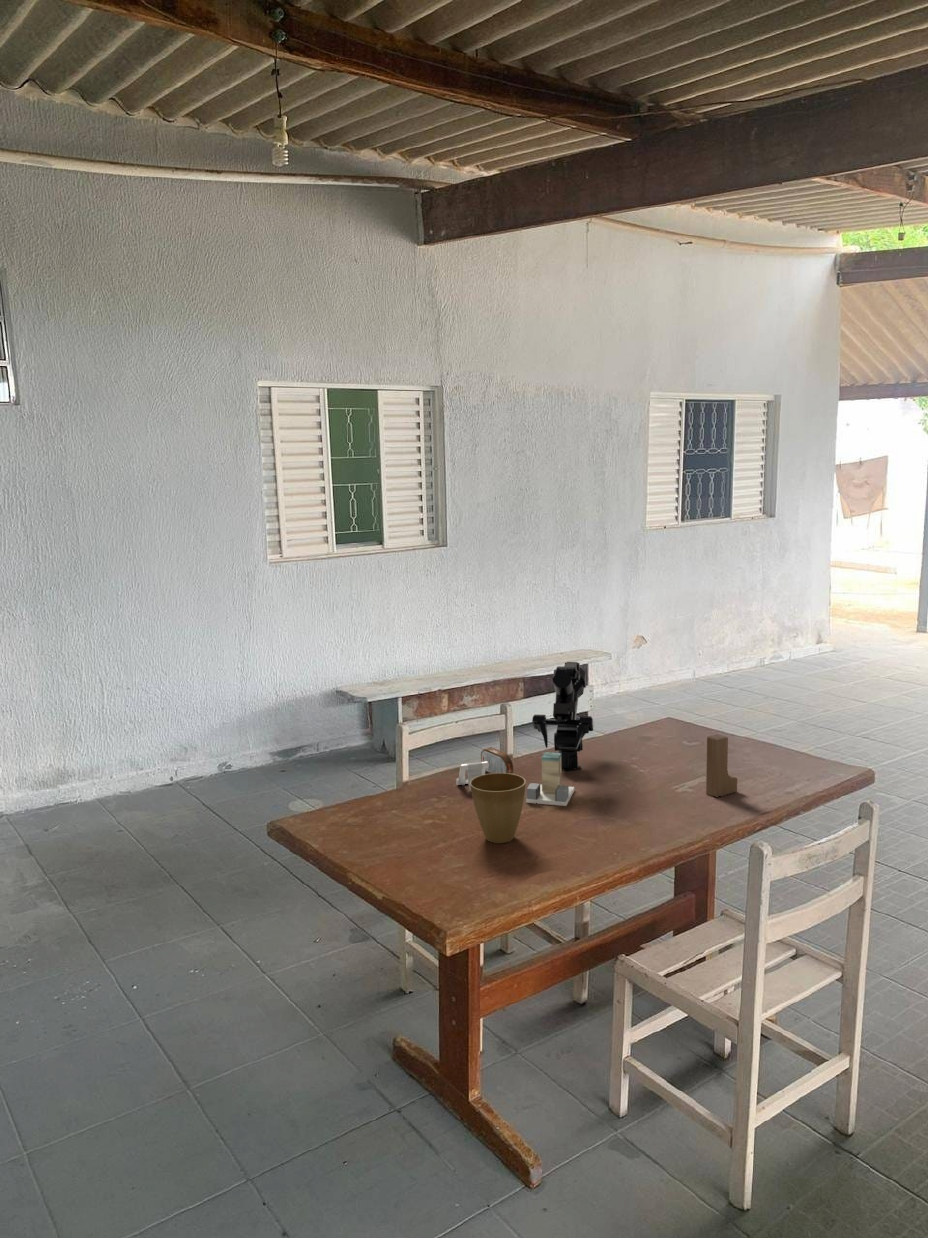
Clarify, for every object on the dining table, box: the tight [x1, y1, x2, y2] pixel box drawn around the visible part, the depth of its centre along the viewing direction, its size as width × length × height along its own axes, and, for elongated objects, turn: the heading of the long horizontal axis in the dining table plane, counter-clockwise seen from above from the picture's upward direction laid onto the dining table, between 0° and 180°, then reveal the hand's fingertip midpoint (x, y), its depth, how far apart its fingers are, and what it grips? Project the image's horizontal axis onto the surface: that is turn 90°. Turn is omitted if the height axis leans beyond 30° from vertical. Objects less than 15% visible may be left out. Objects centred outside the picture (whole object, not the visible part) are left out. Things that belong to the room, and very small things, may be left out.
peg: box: [541, 751, 563, 793], centre depth 280 cm, size 5×5×11 cm
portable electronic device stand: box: [455, 761, 489, 792], centre depth 289 cm, size 9×8×8 cm
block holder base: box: [525, 782, 575, 807], centre depth 279 cm, size 14×12×4 cm
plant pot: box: [470, 773, 527, 844], centre depth 247 cm, size 15×15×16 cm
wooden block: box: [705, 733, 738, 798], centre depth 277 cm, size 9×4×18 cm, turn 123°
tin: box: [480, 746, 514, 774], centre depth 300 cm, size 15×3×8 cm, turn 34°
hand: (561, 748), depth 286 cm, fingers open, 9 cm apart
